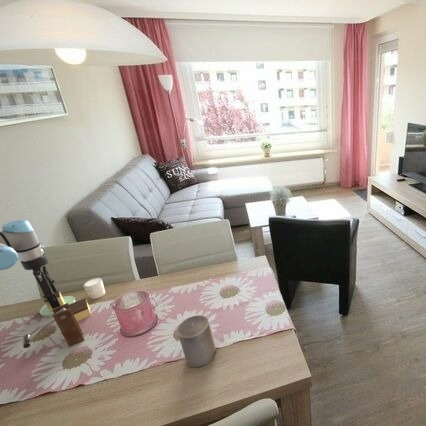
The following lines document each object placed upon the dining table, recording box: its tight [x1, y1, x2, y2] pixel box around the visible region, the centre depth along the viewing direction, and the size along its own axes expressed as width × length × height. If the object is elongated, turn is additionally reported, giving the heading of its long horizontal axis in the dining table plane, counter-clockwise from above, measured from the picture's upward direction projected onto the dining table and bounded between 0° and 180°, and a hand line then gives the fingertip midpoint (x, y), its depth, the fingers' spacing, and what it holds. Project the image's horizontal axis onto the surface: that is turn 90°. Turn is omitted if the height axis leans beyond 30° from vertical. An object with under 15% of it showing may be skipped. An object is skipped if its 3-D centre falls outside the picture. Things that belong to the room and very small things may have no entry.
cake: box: [69, 298, 92, 322], centre depth 119 cm, size 8×8×5 cm
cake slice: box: [43, 290, 64, 311], centre depth 125 cm, size 5×5×5 cm
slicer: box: [22, 307, 66, 349], centre depth 100 cm, size 14×6×2 cm, turn 132°
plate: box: [39, 295, 77, 318], centre depth 127 cm, size 12×12×1 cm
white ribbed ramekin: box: [82, 277, 106, 300], centre depth 132 cm, size 7×7×7 cm
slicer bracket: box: [52, 303, 85, 348], centre depth 105 cm, size 10×8×16 cm
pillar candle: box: [176, 314, 217, 368], centre depth 98 cm, size 10×10×15 cm
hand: (55, 301), depth 126 cm, fingers open, 8 cm apart
